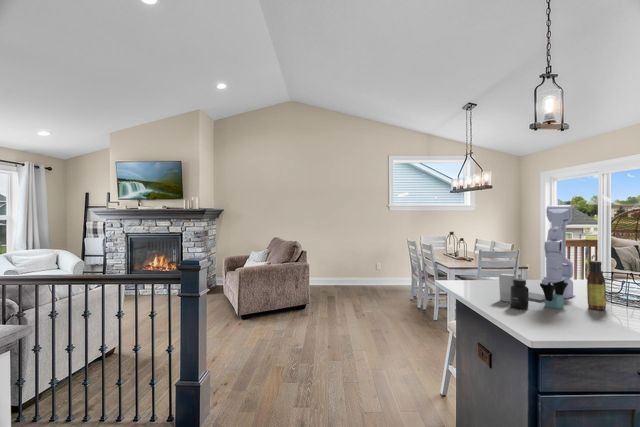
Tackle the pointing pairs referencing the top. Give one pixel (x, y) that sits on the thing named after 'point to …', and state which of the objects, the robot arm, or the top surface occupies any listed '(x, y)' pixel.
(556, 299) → the teal cube
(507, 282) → the skincare box
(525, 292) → the supplement bottle
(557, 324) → the top surface
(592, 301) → the sauce bottle
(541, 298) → the rubber mat
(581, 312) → the top surface
